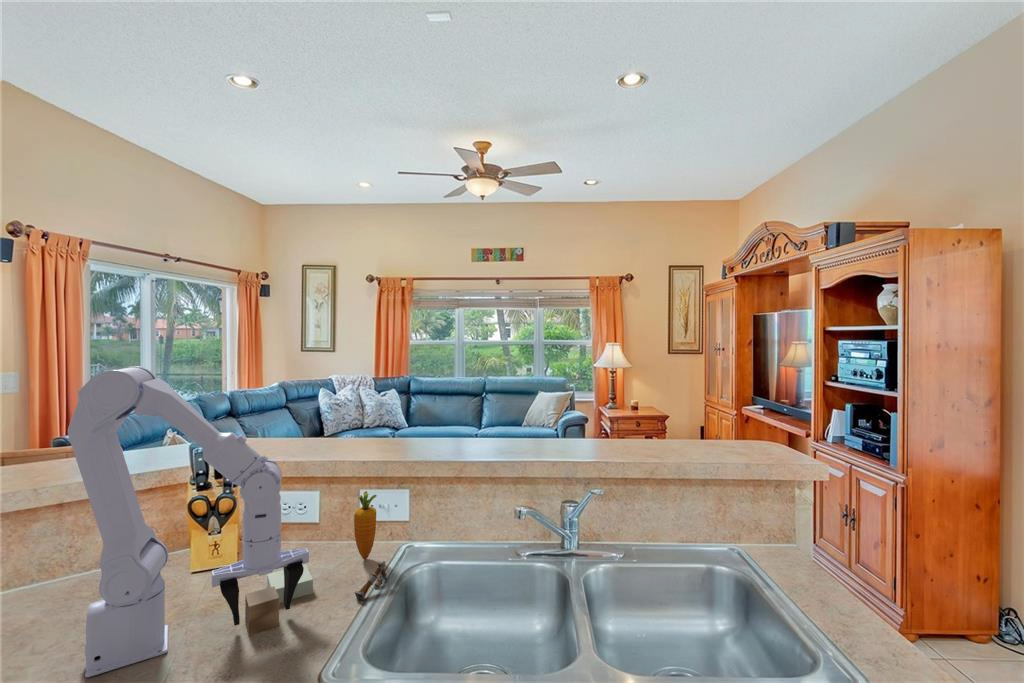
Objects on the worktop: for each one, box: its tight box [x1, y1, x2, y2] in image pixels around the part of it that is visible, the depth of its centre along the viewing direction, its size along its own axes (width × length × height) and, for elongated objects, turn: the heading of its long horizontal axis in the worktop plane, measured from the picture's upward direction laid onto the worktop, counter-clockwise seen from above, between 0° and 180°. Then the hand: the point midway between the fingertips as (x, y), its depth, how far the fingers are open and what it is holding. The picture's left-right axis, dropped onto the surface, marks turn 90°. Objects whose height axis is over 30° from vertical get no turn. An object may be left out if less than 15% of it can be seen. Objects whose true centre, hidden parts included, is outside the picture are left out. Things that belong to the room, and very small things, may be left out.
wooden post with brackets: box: [354, 560, 389, 602], centre depth 91 cm, size 2×8×4 cm, turn 156°
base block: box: [266, 563, 314, 604], centre depth 91 cm, size 7×7×3 cm
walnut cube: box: [244, 586, 280, 637], centre depth 80 cm, size 4×4×5 cm
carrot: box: [353, 490, 377, 561], centre depth 103 cm, size 5×5×15 cm
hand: (262, 614), depth 80 cm, fingers open, 7 cm apart
